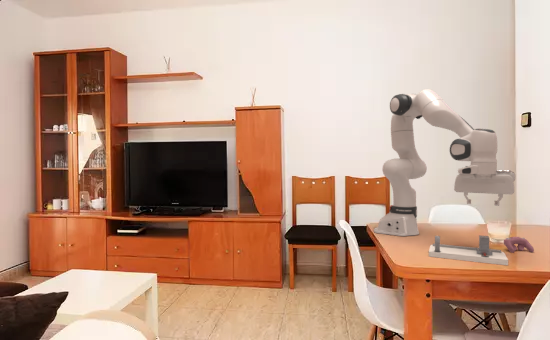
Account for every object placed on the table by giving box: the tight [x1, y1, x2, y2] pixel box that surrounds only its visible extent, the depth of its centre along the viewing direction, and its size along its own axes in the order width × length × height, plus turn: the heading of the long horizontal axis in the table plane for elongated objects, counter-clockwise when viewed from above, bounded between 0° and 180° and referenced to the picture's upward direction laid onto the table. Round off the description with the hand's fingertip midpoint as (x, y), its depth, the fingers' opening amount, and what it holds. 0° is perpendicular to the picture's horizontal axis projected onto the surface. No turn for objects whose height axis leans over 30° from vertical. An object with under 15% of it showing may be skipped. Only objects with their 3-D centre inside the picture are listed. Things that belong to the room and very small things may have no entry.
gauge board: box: [428, 235, 509, 266], centre depth 133 cm, size 26×12×8 cm, turn 62°
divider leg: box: [475, 235, 492, 256], centre depth 129 cm, size 5×7×6 cm
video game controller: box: [503, 236, 535, 254], centre depth 141 cm, size 10×5×7 cm, turn 93°
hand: (482, 204), depth 134 cm, fingers open, 8 cm apart
